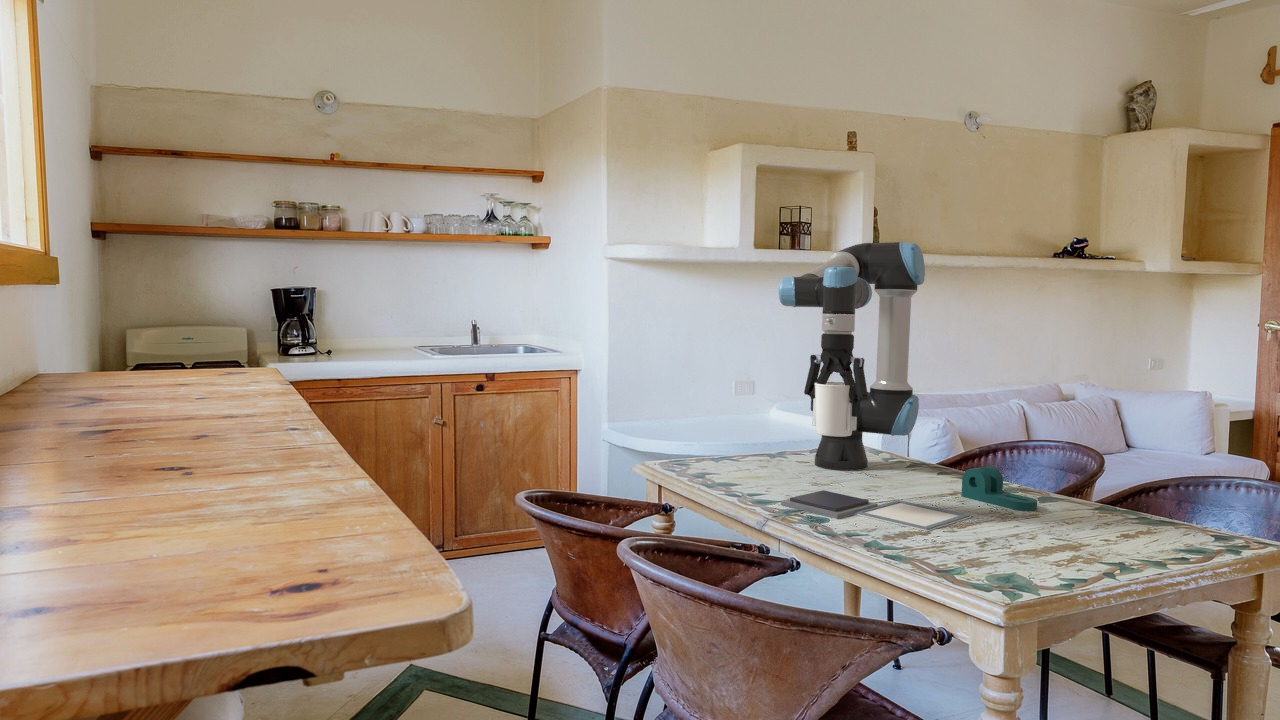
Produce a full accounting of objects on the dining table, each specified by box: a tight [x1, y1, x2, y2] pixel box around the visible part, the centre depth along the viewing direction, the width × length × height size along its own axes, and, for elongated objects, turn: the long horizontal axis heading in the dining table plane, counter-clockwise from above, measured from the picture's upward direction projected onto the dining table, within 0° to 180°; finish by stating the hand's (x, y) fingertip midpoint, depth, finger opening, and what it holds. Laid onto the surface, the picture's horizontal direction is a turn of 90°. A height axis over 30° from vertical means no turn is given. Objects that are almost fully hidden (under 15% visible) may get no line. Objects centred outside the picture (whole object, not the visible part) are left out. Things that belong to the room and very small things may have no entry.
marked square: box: [853, 499, 973, 532], centre depth 202 cm, size 19×19×1 cm
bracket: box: [961, 465, 1038, 512], centre depth 216 cm, size 18×7×8 cm, turn 31°
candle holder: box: [815, 381, 852, 437], centre depth 210 cm, size 10×10×12 cm
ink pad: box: [780, 490, 878, 519], centre depth 209 cm, size 16×16×2 cm
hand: (834, 427), depth 210 cm, fingers closed on candle holder, 9 cm apart
